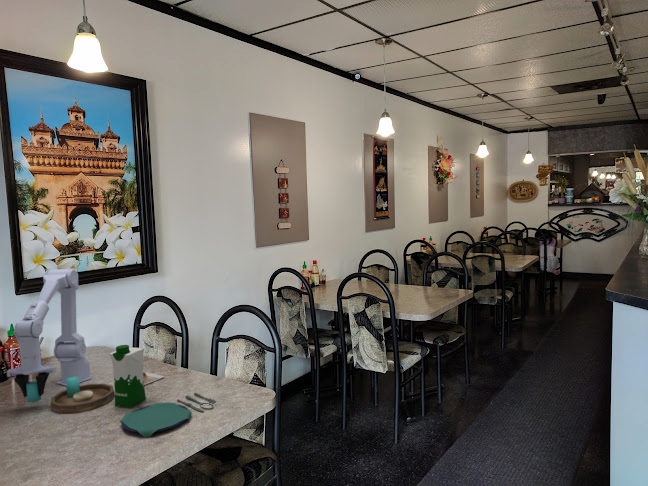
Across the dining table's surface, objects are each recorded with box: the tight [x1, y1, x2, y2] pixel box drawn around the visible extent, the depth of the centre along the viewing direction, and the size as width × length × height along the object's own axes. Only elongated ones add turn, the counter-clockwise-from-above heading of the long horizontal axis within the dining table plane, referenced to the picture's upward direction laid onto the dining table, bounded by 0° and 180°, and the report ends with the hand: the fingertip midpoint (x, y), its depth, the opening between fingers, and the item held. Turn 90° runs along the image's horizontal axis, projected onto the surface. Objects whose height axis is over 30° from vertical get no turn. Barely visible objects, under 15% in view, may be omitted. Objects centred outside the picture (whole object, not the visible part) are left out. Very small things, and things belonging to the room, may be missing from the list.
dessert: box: [143, 369, 165, 386], centre depth 182 cm, size 12×12×5 cm
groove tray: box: [50, 383, 115, 415], centre depth 163 cm, size 20×20×2 cm
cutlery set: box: [119, 392, 218, 438], centre depth 150 cm, size 20×30×2 cm, turn 139°
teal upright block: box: [65, 377, 80, 398], centre depth 166 cm, size 4×4×6 cm
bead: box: [26, 379, 42, 404], centre depth 159 cm, size 4×4×6 cm
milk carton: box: [109, 344, 147, 409], centre depth 160 cm, size 9×9×20 cm
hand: (34, 395), depth 159 cm, fingers closed on bead, 4 cm apart
